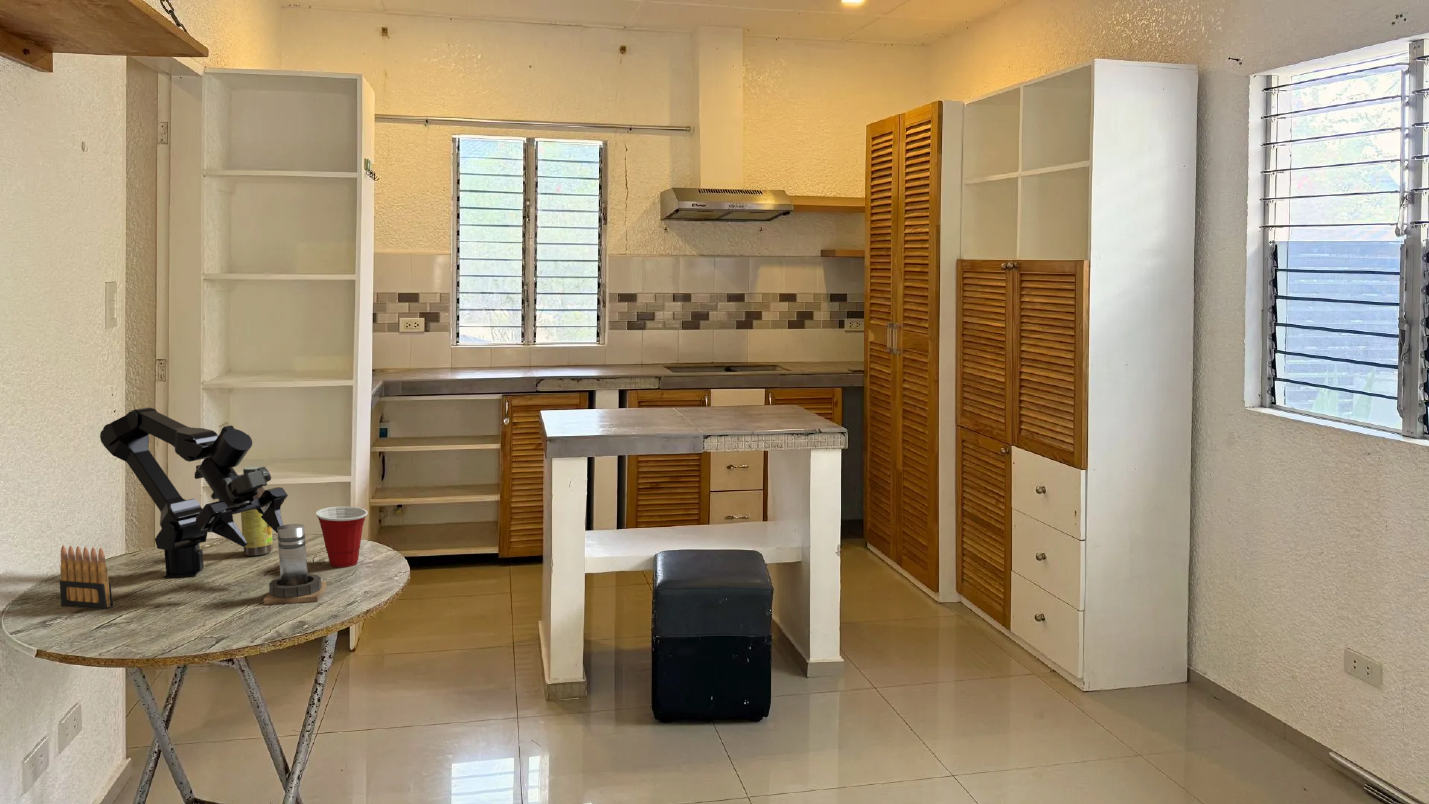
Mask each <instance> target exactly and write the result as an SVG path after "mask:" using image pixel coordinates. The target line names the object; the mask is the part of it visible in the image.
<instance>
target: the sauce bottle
mask: <svg viewBox="0 0 1429 804" xmlns="http://www.w3.org/2000/svg"><path fill="white" fill-rule="evenodd" d="M260 467H261V466H260V465H259V466H258V465H256V466H254V465H253V466H245V467H244V468H243V471H242V474H243V475H244V474H247V473H251V472H254V470H256V469H257V468H260ZM257 490H258V493H257V495H255V496H254V497H253V498H254V499H258V498H260V497H261V495H262V494H263V492H264V491H265V490H266V489H265V488H264V486H262V487H260V488H258V489H257ZM262 515H263V514H260V513H259V512H258V511H257V509H253V510H249V511H245V512H241V513H240V520H241V533H242V535H243V536H244V538H245V540H246V542H247V545H246V547H243V552H244V555H245V556H249V557H253V556H254V557H255V556H262V555H267V554H270V553H272V551H273V542H274V541H273V529H272V528H271V527H270V526H269V525H268V524H267V523H266V522H265V521H264V520H263V519H262V518H261V516H262Z"/></svg>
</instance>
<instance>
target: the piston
mask: <svg viewBox="0 0 1429 804" xmlns="http://www.w3.org/2000/svg"><path fill="white" fill-rule="evenodd" d="M277 532H278V534H277V542H278V543H277V544H278V556H279V557H278V559H279V572H280V577H281V586H297V585H302V584H307V583H308V575H307V574H308V564H307V548H306V534H305V525H304V524H303V523H302V524H301V523H289V524H283V525H282V526H279V527H278V528H277Z"/></svg>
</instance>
